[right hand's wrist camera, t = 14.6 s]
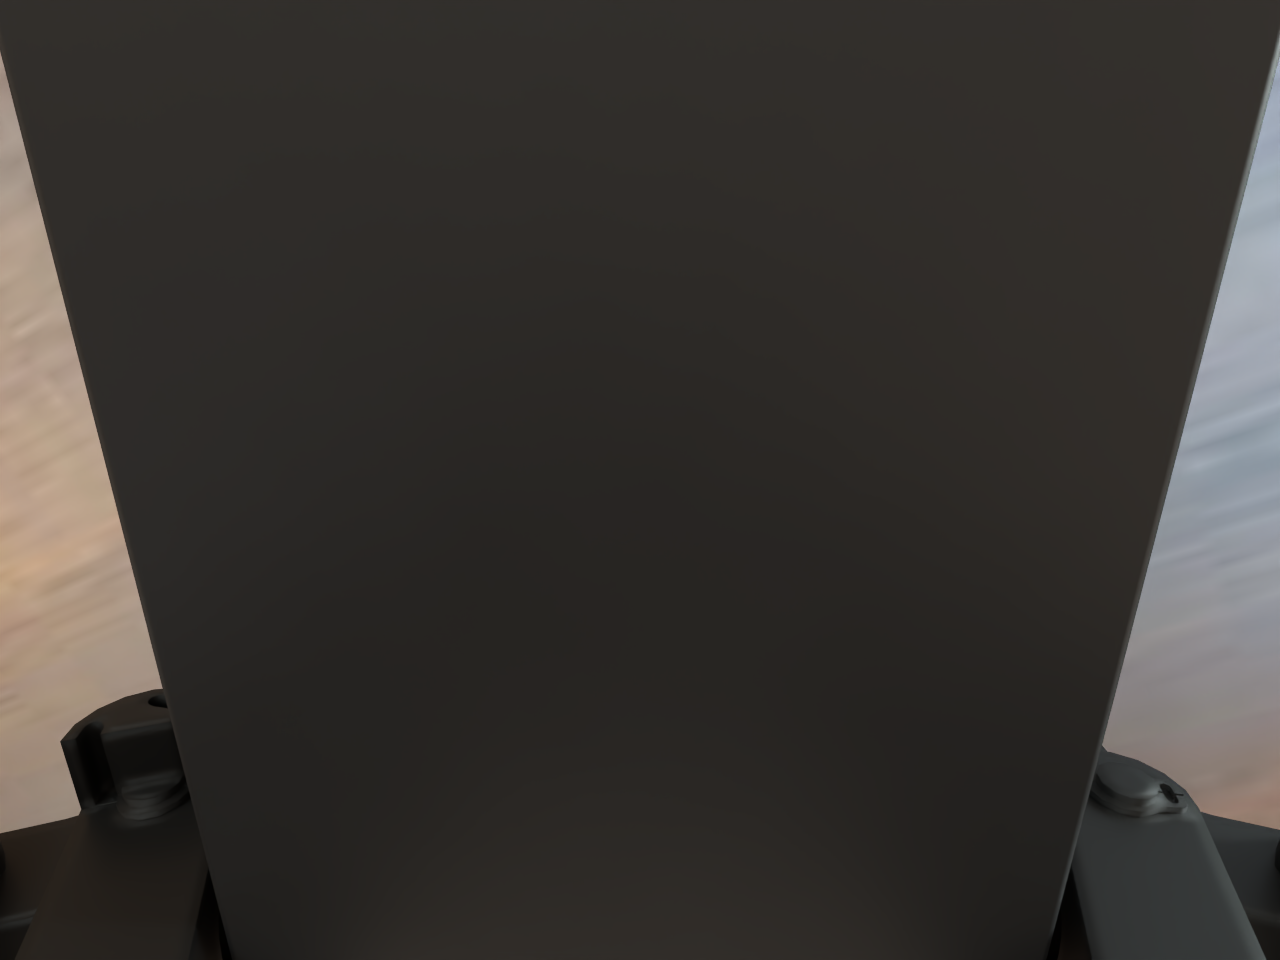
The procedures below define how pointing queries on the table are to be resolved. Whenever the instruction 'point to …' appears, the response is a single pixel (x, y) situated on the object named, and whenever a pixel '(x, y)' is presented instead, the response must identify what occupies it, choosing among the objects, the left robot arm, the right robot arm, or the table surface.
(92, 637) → the table surface
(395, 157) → the box
